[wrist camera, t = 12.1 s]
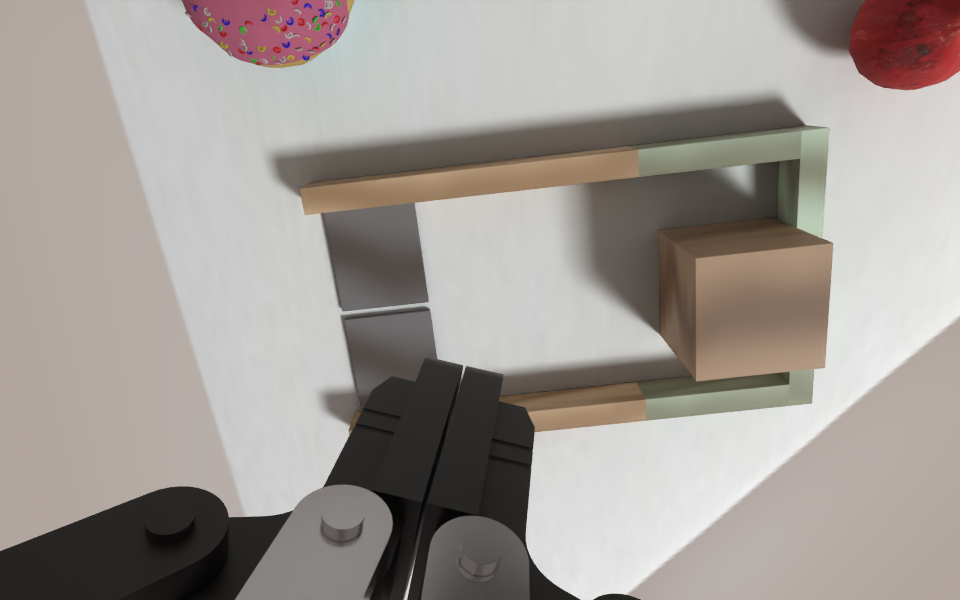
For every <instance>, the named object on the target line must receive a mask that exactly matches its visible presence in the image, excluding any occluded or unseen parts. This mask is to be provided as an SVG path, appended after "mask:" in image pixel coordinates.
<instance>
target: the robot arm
mask: <svg viewBox="0 0 960 600" xmlns="http://www.w3.org/2000/svg"><path fill="white" fill-rule="evenodd" d="M462 370H463V365H459V364H455V363H451V362H446V361H442V360H438V359H434V358H429V357H425V359H424V361H423V364H422V366H421V369H420V371H419V374H418V376H417V378H416V381H410V380H406V379H402V378H398V377H394V376H391V377H390V378H388V379H387V380H386V381H384V382H383V383H381V384H380V385H378V386H377V387H376V388H374V389H373V390H372V392H371V394H370V396H369V398H368V400H367V402H366V404H365V406H364V408H363V412H361V414H360V416H359V418H358V420H357V422H356V425H355V427H354V428H353V430H352V432H351V434H350V436H349V438H348V440H347V442H346V444H345V446H344V448H343V449H342V451H341V453H340V455H339V457H338V459H337V461H336V463H335V465H334V467H333V469H332V471H331V473H330V475H329V477H328V479H327V481H326V483H325V485H324V487H323V488H320V489H318V490H316V491H314V492H312V493H310V494H309V495H307V496H306V497H304V498H303V499H302V500H301V501H300V502H299V503H298V505H297V506H296V507H295V509H294V510H293V511H290V512H287V513H284V514H279V515H274V516H261V517H230V518H229V517H228V512H227V509H226V507H225V505H224V503H223V502H222V501H221V500H220V499H219V498H218V497H217V496H215V495H214V494H212V493H210V492H208V491H206V490H203V489H199V488H194V487H170V488H165V489H160V490H157V491H154V492H151V493H148V494H146V495H143V496H141V497H138V498H135V499H133V500H130V501H128V502H125V503H123V504H120V505H118V506H115V507H112V508H110V509H108V510H105V511H102V512H100V513H97V514H95V515H92V516H89V517H87V518H84V519H82V520H79V521H77V522H74V523H72V524H69V525H66V526H64V527H61V528H59V529H56V530H54V531H51V532H48V533H46V534H43V535H41V536H38V537H36V538H33V539H31V540H28V541H25V542H23V543H21V544H18V545H15V546H13V547H10V548H7V549H5V550H2V551H0V600H404V597H405V594H406V590H407V587H408V583H409V579H410V576H411V572H412V569H413V565H414V569H413V574H412V579H411V584H410V589H409V594H408V599H407V600H580V599H578V598H577V597H575V596H573V595H571V594H569V593H568V592H566V591H564V590H562V589H561V588H559V587H558V586H556V585H555V584H553V583H552V582H551V581H550V580H548V579H547V578H546V577H545V576H544V575H543V574H542V573H541V572H540V571H539V569H538V568H537V567H536V565H535V564H534V562H533V561H532V559H531V557H530V555H529V552H528V549H527V545H526V535H525V533H526V522H527V510H528V499H529V488H530V477H531V465H532V454H533V452H532V450H533V443H534V431H535V427H534V425H533V423H532V421H531V418H530V416H529V414H528V412H527V410H526V408H525V407H521V406H517V405H513V404H509V403H504V402H500V401H499V397H500V392H501V386H502V381H503V374H498V373H494V372H490V371H486V370H481V369H477V368H473V367H468V366H466V368H465V372H464V375H463V379H462V382H461V386H460V389H459V385H460V380H461V375H462ZM458 390H459V393H458ZM457 394H458V396H457ZM456 399H457V400H456ZM415 558H416V559H415ZM414 561H415V564H414ZM594 600H640V599H637V598H635V597H632V596H628V595H623V594H606V595H602V596H599V597H597V598H595V599H594Z"/></svg>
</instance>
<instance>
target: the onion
mask: <svg viewBox="0 0 960 600" xmlns="http://www.w3.org/2000/svg"><path fill="white" fill-rule="evenodd" d="M849 51H850V54H851V56H852V58H853V61H854V63H855V65H856V68H857V70H858V72H859V73H860V74H861V75H863V76H864V77H866V78H867V79H868V80H870V81H871V82H872V83H874V84H875V85H878V86H881V87H884V88H891V89H900V90H915V89H919V88H923V87H927V86H930V85H934V84H938V83H940V82H943V81H945V80H947V79H949V78H950V77H952V76H953V75H954V74H956V73H957V72H959V71H960V0H866V1H865V2H864V3H863V4H862V6H861V7H860V9H859V11H858V13H857V16H856V18H855V20H854V23H853V25H852V27H851V30H850V43H849Z"/></svg>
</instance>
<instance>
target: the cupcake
mask: <svg viewBox="0 0 960 600" xmlns="http://www.w3.org/2000/svg"><path fill="white" fill-rule="evenodd" d="M182 1H183V4H184V6H185V9H186V11H187V12H185V14H186V15H187V16H189V17H190V19H191V20H192V22H193V23H194V24H195V26H196V27H197V28H199V29H200V30H201V31H202V32H203V33H205V34H206V35H207V36H209V37H210V38H211V39H212V40H213V41H214V42H216V43H217V44H218V45H219V46H220V47H221V48H222V49H223V50H225V51H226V52H227V53H228V54H229V55H230V56H233V57H235V58H237V59H239V60H242V61H245V62H249V63H253V64H256V65H260V66H265V67H272V68H282V67H290V66H297V65H302V64H305V63H307V62H309V61H311V60H312V59H314V58H315V57H317V56H318V55H319V54H320V53H322V52H323V51H324V50H326V49H328V48H330V47H331V46H332V45H333V44H334V43H335V42H336V41H337V40H338V39H339V38H340V36H341V35H342V33H343V32H344V30H345V28H346V26H347V23H348V18H349V14H350V11H351V8H352V6H353V3H354V0H182Z"/></svg>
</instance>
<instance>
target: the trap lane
mask: <svg viewBox="0 0 960 600" xmlns="http://www.w3.org/2000/svg"><path fill="white" fill-rule="evenodd" d="M828 141H829V128H827V127H817V126H807V125H806V126H797V127H788V128H780V129H771V130H762V131H754V132H745V133H736V134H728V135H719V136H710V137H702V138H693V139H684V140H676V141H667V142H658V143H650V144H641V145H632V146H624V147H615V148H606V149H597V150H589V151H580V152H571V153H563V154H554V155H545V156H537V157H528V158H519V159H511V160H502V161H493V162H485V163H476V164H467V165H459V166H450V167H441V168H433V169H424V170H415V171H407V172H398V173H389V174H381V175H372V176H363V177H355V178H346V179H337V180H328V181H320V182H311V183H309V184H307V185H305V186H303V187H302V188H300V194H301V198H302V203H303V208H304V213H305V215H310V214H318V213H324V218H325V223H326V228H327V234H328V239H329V244H330V249H331V254H332V260H333V265H334V270H335V275H336V280H337V285H338V291H339V296H340V301H341V306H342V311H351V310H360V309H370V308H379V307H388V306H397V305H406V304H415V303H424V302H428V301H429V300H428V293H427V286H426V279H425V272H424V266H423V259H422V252H421V245H420V238H419V231H418V224H417V218H416V211H415V204H414V203H415V202H424V201H433V200H441V199H450V198H459V197H468V196H476V195H485V194H494V193H503V192H512V191H520V190H529V189H538V188H547V187H555V186H564V185H573V184H582V183H591V182H599V181H608V180H617V179H626V178H635V177H643V176H652V175H661V174H670V173H678V172H687V171H696V170H705V169H714V168H722V167H731V166H740V165H749V164H757V163H766V162H775V161H779V182H778V208H777V220H779V221H782V222H784V223H786V224H789V225H791V226H793V227H796V228H798V229H801V230H803V231H805V232H808V233H810V234H812V235H815V236H817V237H820V238H822V236H823V220H824V204H825V188H826V172H827V157H828ZM344 322H345V327H346V332H347V337H348V342H349V348H350V353H351V358H352V363H353V368H354V373H355V379H356V384H357V389H358V394H359V399H360V405H361V409H363V408H364V406H365V404H366V402H367V400H368V398H369V396H370V394H371V392H372V390H373V389H374V388H376V387H377V386H378V385H380V384H381V383H383V382H384V381H386V380H387V379H388V378H390V377H391V376H394V377H398V378H402V379H406V380H410V381H416V378H417V376H418V374H419V371H420V369H421V366H422V364H423V361H424V359H425V357H429V358H434V359H437V355H436V348H435V341H434V334H433V327H432V320H431V314H430V309H429V310H420V311H410V312H401V313H392V314H383V315H374V316H365V317H356V318H346V319H345V320H344ZM813 379H814V369H809V370H799V371H790V372H781V373H771V374H762V375H752V376H743V377H733V378H724V379H714V380H705V381H695V379H694V378H693V377H692V376H690V377H680V378H671V379H661V380H652V381H642V382H633V383H623V384H614V385H604V386H595V387H585V388H576V389H566V390H557V391H547V392H538V393H528V394H519V395H509V396H500V397H499V401H500V402H504V403H509V404H513V405H517V406H521V407H525V408H526V410H527V412H528V414H529V416H530V418H531V421H532V423H533V425H534V427H535V431H534V432H541V431H550V430H560V429H570V428H579V427H589V426H598V425H608V424H618V423H627V422H637V421H647V420H656V419H666V418H676V417H685V416H695V415H704V414H714V413H724V412H733V411H743V410H753V409H762V408H772V407H782V406H791V405H801V404H811V403H812V395H813ZM361 412H363V411H357V412H355V415H354V417H353V420H352V423H351V426H350V428H349V435H350V434H351V432H352V430H353V428H354V427H355V425H356V422H357V420H358V418H359V416H360V414H361Z"/></svg>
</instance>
